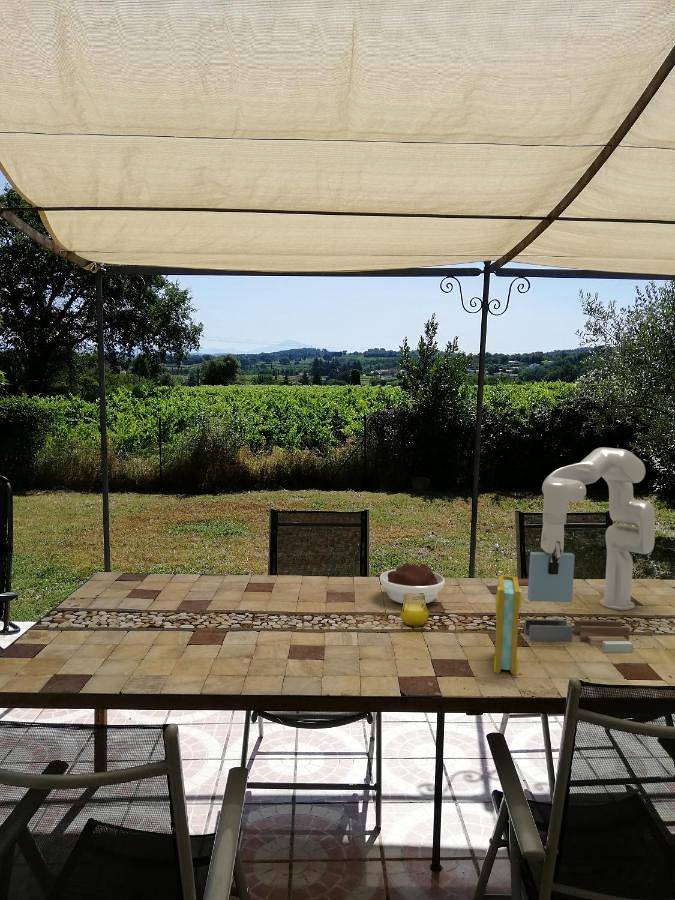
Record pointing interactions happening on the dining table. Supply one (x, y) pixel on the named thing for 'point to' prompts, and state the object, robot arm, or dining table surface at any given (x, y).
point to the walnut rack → (599, 629)
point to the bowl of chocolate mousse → (411, 582)
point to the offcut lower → (598, 640)
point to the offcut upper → (617, 646)
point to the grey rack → (548, 630)
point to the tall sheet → (550, 578)
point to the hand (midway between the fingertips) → (551, 572)
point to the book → (507, 623)
